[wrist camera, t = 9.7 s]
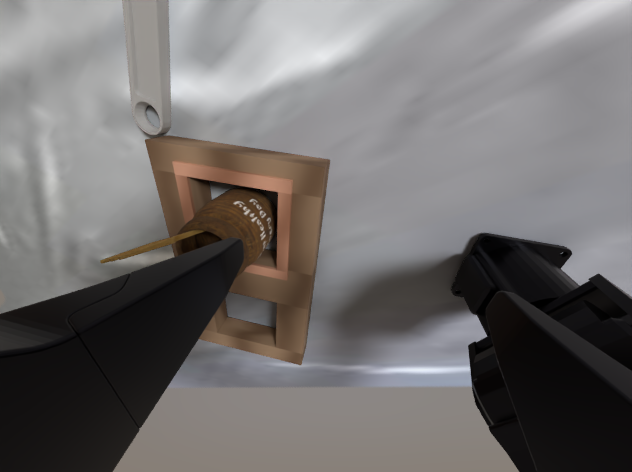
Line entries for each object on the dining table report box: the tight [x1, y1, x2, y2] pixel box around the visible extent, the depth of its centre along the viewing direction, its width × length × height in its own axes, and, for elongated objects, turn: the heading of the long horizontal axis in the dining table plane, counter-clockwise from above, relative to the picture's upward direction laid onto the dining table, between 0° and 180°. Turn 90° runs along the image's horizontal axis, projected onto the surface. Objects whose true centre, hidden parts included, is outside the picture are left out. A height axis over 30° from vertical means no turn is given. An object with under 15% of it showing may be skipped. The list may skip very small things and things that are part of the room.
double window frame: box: [145, 135, 330, 365], centre depth 24 cm, size 14×24×3 cm, turn 174°
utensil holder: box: [100, 187, 278, 279], centre depth 17 cm, size 6×6×12 cm
